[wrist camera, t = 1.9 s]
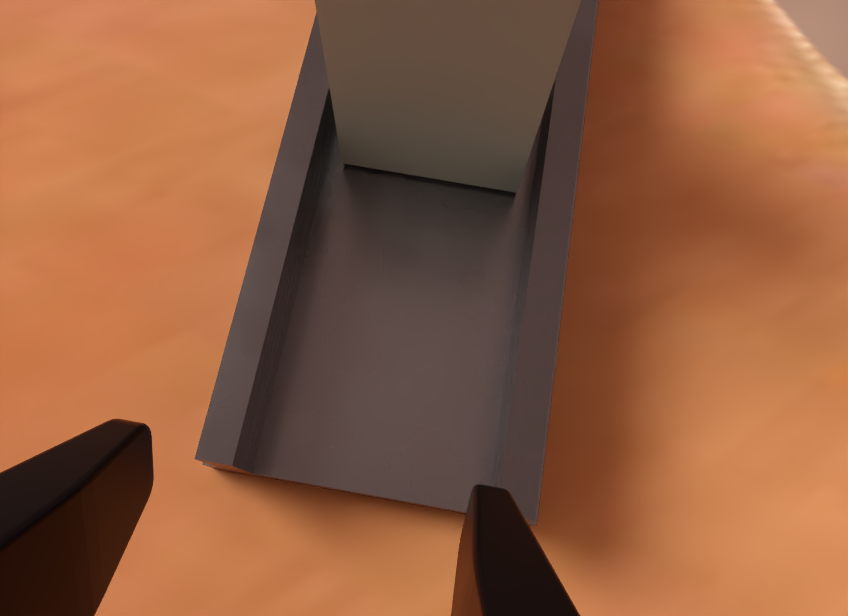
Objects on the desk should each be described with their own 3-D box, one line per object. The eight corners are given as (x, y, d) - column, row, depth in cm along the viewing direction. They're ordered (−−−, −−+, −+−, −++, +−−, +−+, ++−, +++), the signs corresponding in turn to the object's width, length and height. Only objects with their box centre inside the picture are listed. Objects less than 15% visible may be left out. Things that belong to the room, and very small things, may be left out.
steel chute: (530, 525, 21) (554, 524, 18) (211, 467, 21) (176, 455, 18) (603, -75, 29) (629, -155, 25) (364, -113, 29) (359, -197, 25)
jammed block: (516, 192, 23) (595, -42, 14) (342, 163, 23) (299, -89, 14) (535, 69, 25) (616, -218, 15) (370, 42, 25) (350, -258, 15)
